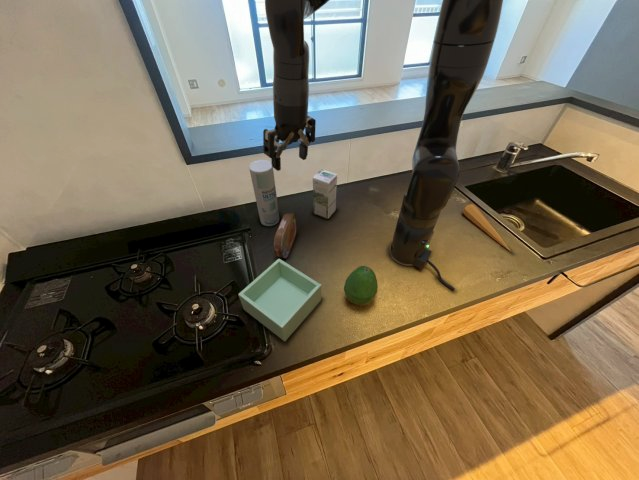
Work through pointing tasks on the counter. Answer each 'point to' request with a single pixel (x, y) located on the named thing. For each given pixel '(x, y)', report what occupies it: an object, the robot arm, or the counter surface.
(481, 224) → the carrot
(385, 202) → the counter surface
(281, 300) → the mint storage bin
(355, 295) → the avocado
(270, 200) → the spray can
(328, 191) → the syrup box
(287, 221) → the tin
